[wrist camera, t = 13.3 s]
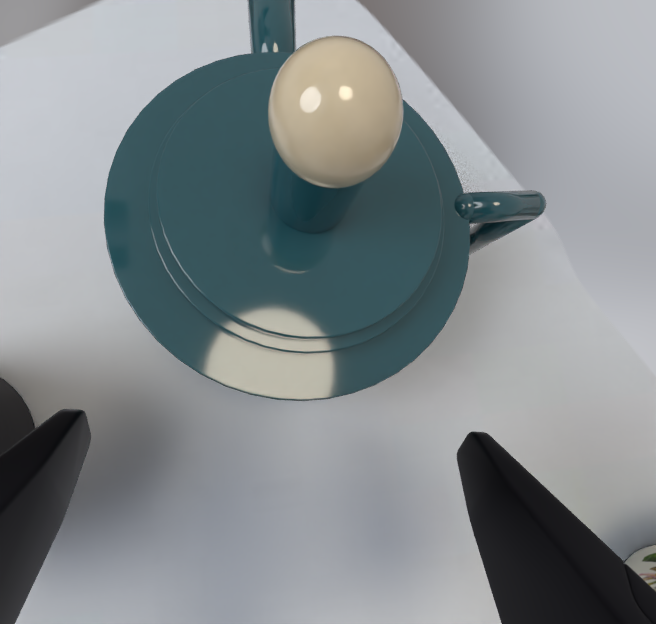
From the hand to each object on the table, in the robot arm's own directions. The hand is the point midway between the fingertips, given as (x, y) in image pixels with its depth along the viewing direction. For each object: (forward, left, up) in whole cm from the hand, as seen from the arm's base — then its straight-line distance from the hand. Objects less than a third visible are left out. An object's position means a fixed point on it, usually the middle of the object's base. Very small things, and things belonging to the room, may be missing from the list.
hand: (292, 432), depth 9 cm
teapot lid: (+7, -2, -2) cm, 7 cm away
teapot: (+9, -3, -10) cm, 14 cm away
